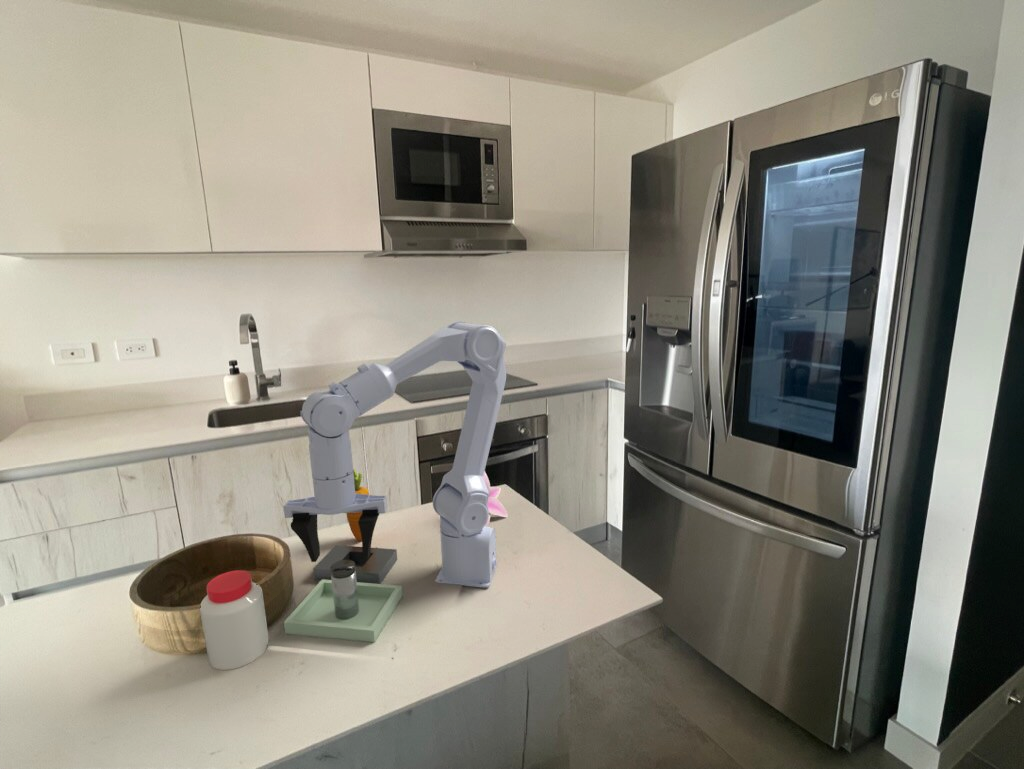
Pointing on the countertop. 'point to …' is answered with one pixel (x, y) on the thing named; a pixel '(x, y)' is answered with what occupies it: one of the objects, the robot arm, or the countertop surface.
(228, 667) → the pill bottle
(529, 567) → the countertop surface
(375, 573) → the hitch block
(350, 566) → the pin
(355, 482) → the carrot
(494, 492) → the lily
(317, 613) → the tray
